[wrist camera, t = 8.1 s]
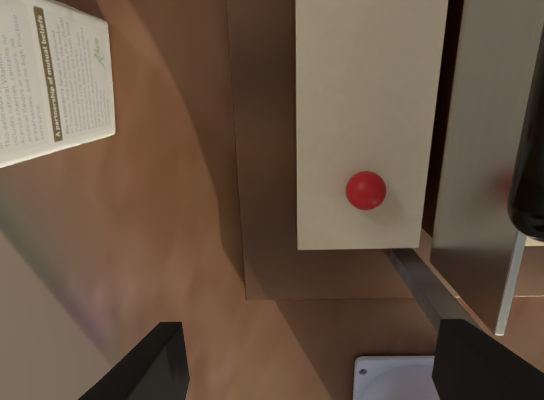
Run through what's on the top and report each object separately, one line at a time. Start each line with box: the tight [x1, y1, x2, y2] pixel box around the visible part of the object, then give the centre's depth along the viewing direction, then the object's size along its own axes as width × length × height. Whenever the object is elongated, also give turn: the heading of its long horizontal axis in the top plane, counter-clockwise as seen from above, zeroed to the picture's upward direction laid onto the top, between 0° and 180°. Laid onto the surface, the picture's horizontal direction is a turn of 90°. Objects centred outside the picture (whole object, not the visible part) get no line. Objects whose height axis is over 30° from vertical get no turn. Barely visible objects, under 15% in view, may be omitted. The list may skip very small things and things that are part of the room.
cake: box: [292, 0, 544, 250], centre depth 13 cm, size 14×12×5 cm
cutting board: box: [226, 0, 544, 333], centre depth 13 cm, size 24×18×8 cm
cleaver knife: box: [429, 0, 544, 335], centre depth 9 cm, size 15×2×6 cm, turn 2°
